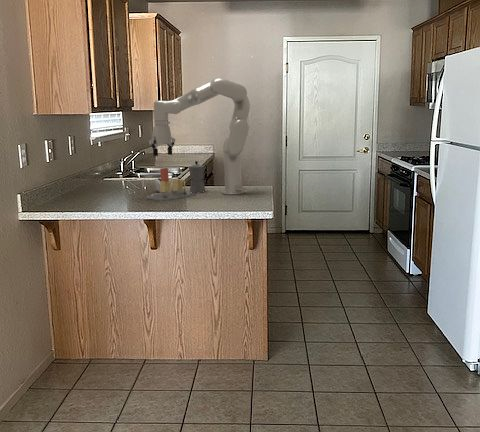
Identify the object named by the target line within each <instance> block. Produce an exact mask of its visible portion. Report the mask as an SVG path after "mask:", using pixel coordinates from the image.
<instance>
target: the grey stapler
mask: <svg viewBox="0 0 480 432" xmlns="http://www.w3.org/2000/svg"><path fill="white" fill-rule="evenodd" d="M160 181H161V177H158V178H156V179H155V180H154V181H153V182H154V185H155V187H156V190H157V191H158V193H161V187H160ZM170 191H171V189H170Z"/></svg>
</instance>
